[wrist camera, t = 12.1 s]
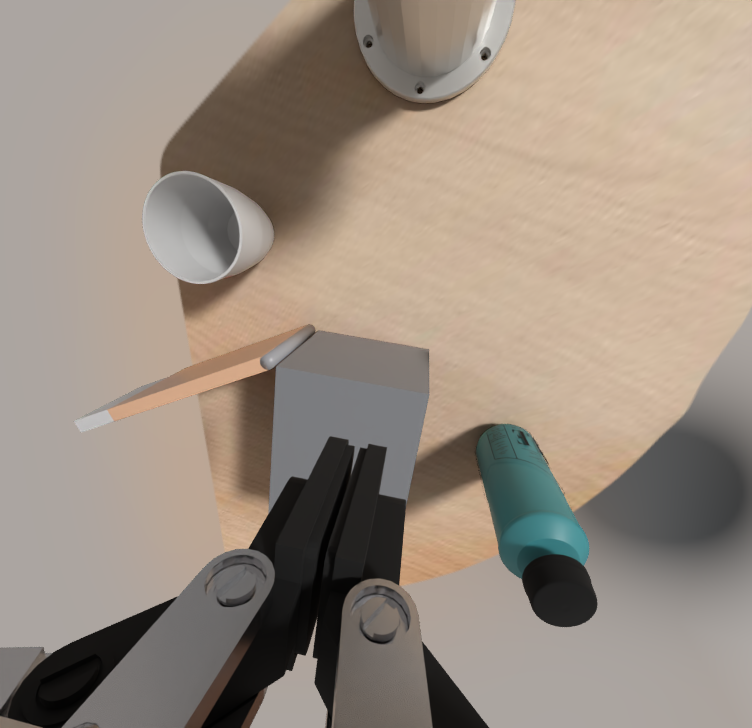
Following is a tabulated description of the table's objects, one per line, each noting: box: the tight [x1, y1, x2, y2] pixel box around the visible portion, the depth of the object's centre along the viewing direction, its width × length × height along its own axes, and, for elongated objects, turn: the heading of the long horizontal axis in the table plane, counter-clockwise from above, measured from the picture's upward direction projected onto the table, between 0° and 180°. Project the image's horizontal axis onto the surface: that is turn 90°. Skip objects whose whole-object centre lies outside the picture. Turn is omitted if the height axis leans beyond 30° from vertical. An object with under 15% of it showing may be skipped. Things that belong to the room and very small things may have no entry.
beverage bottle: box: [476, 424, 597, 627], centre depth 32 cm, size 6×7×20 cm
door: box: [74, 324, 315, 432], centre depth 37 cm, size 21×1×11 cm, turn 111°
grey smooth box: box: [269, 331, 429, 512], centre depth 37 cm, size 16×12×12 cm
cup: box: [142, 171, 274, 284], centre depth 33 cm, size 8×8×10 cm
